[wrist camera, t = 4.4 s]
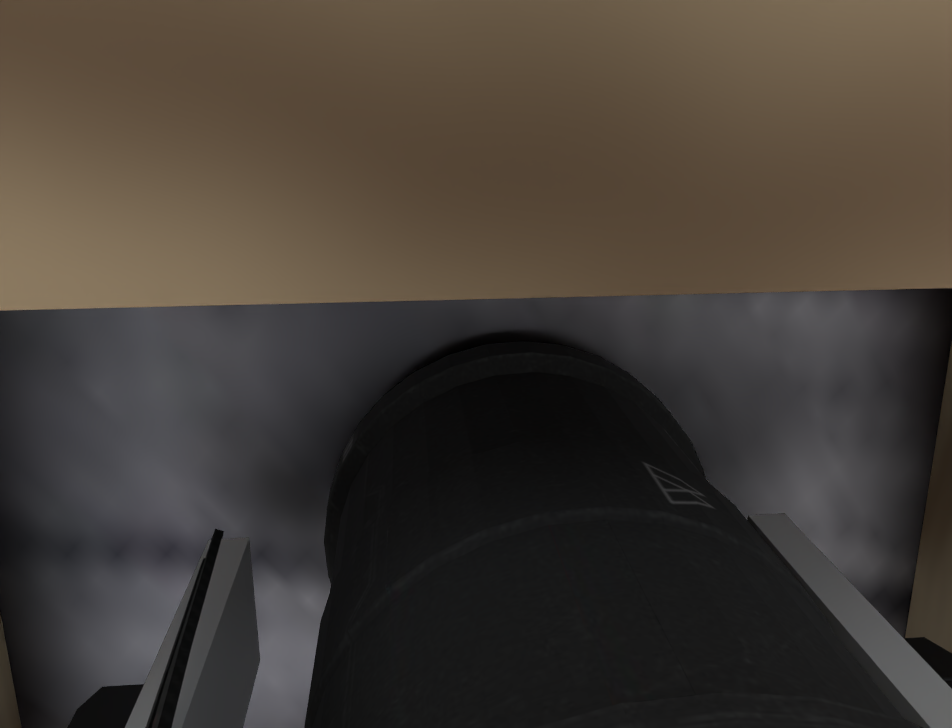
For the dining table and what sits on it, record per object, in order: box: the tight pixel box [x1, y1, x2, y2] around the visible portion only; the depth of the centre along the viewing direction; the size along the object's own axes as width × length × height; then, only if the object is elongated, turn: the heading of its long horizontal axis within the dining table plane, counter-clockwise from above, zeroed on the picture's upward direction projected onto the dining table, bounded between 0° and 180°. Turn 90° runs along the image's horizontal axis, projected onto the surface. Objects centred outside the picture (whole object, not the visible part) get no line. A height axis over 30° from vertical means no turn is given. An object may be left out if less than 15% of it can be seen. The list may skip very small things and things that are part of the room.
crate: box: [0, 0, 952, 728], centre depth 17 cm, size 22×26×10 cm
